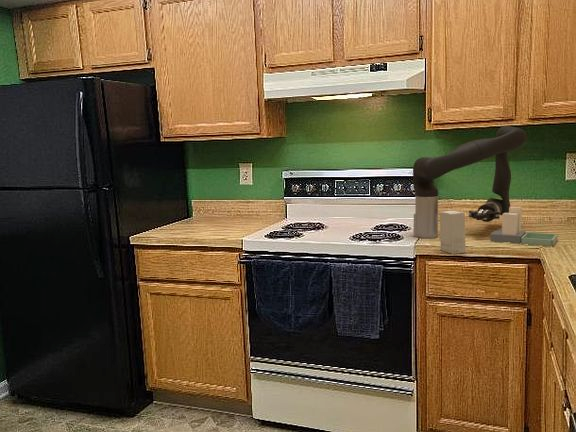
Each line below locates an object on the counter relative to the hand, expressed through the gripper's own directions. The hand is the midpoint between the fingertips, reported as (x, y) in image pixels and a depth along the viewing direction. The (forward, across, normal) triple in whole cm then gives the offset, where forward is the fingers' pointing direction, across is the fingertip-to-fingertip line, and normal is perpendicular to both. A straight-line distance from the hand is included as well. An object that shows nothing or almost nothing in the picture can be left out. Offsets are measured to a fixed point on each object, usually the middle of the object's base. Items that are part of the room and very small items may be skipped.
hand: (478, 217), depth 209 cm
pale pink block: (-3, +11, +6) cm, 13 cm away
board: (-5, +10, +9) cm, 15 cm away
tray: (-5, +22, +9) cm, 24 cm away
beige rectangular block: (-7, +12, +6) cm, 16 cm away
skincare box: (+24, -3, +9) cm, 26 cm away
